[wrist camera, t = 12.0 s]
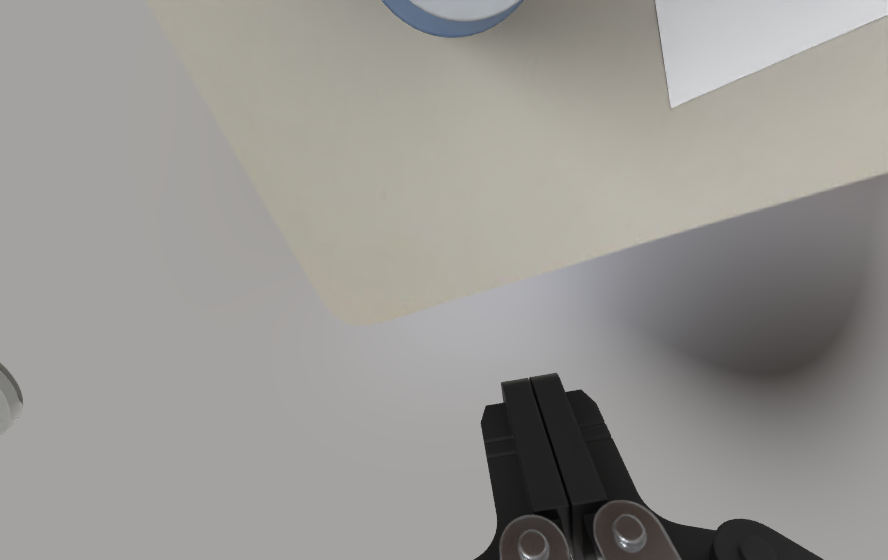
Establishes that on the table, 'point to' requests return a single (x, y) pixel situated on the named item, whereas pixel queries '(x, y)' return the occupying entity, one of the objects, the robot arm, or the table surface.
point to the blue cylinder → (452, 15)
